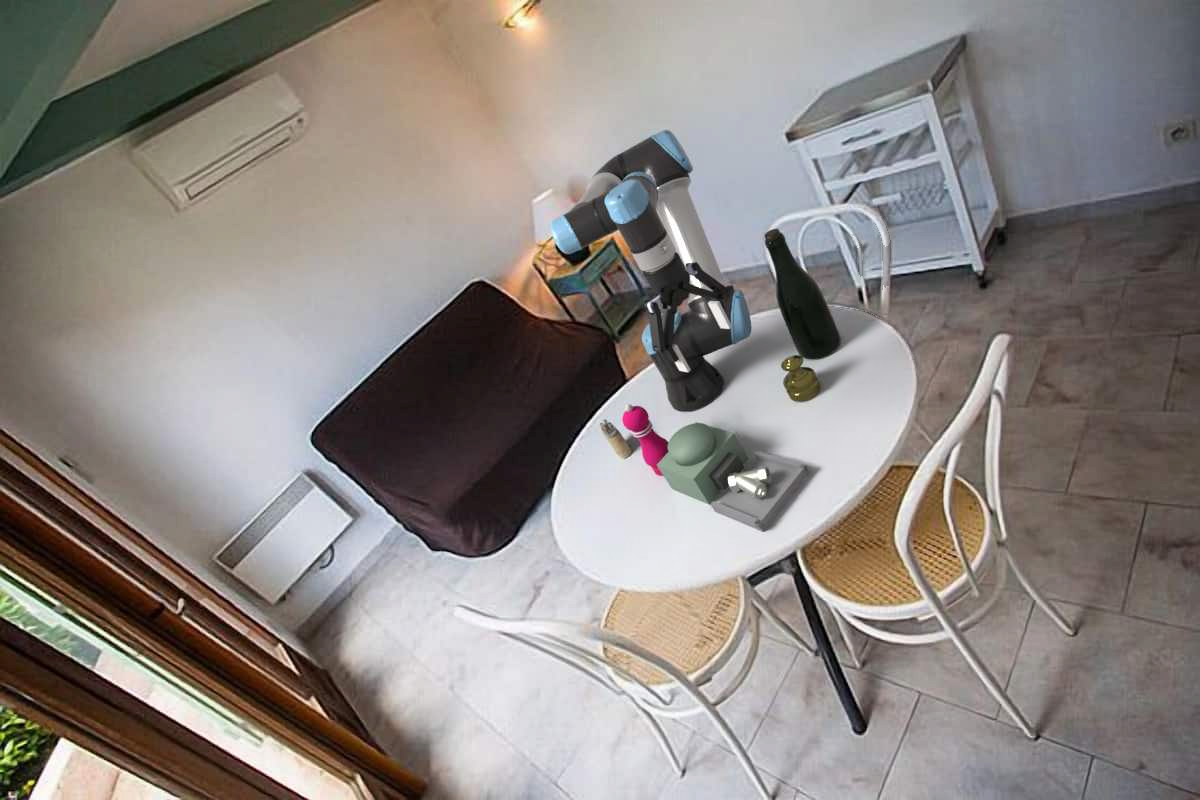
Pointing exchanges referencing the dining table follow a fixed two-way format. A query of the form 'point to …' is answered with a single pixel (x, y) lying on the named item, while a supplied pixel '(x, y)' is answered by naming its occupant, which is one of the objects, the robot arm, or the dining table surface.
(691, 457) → the mower housing
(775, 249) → the dark green wine bottle
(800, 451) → the dining table surface
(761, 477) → the pipe fitting
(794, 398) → the brass rounded piece
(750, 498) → the tray
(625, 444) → the tan cylindrical piece
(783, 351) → the dining table surface
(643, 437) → the pepper mill
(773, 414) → the dining table surface
